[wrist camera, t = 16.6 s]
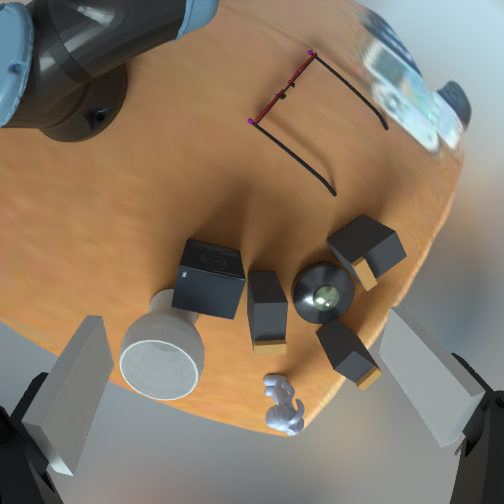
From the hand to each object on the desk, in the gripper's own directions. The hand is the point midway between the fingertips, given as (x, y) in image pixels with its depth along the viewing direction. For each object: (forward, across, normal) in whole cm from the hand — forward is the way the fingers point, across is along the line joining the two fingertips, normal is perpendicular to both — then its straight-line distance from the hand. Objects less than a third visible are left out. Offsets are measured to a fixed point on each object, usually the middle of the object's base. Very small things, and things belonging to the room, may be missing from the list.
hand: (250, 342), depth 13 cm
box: (+32, -3, -8) cm, 33 cm away
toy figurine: (+32, +8, -32) cm, 46 cm away
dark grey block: (+32, +18, -22) cm, 42 cm away
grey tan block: (+32, +4, -13) cm, 35 cm away
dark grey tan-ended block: (+32, +18, -4) cm, 37 cm away
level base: (+32, +14, -13) cm, 37 cm away
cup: (+32, -9, -16) cm, 37 cm away
